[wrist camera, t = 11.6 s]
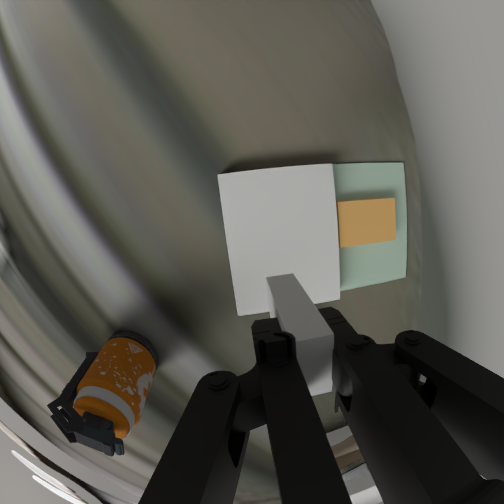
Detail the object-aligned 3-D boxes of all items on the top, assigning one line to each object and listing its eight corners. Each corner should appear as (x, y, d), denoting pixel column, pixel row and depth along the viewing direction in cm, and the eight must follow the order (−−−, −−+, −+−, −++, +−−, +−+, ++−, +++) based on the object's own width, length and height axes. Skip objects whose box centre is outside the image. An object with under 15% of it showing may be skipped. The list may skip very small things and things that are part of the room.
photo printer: (342, 479, 55) (354, 510, 43) (336, 476, 54) (348, 508, 42) (374, 462, 54) (389, 492, 42) (369, 458, 53) (385, 490, 41)
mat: (331, 164, 35) (332, 164, 35) (401, 162, 36) (403, 162, 35) (338, 290, 39) (339, 290, 39) (404, 276, 40) (405, 277, 40)
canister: (156, 380, 41) (129, 475, 21) (97, 362, 39) (49, 444, 20) (161, 338, 39) (124, 438, 20) (96, 319, 38) (31, 399, 18)
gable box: (288, 471, 51) (309, 563, 24) (276, 447, 47) (299, 558, 20) (373, 442, 51) (416, 524, 24) (374, 413, 48) (430, 508, 21)
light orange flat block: (334, 244, 37) (340, 247, 35) (332, 201, 36) (337, 202, 34) (388, 237, 38) (395, 239, 36) (387, 197, 36) (394, 197, 34)
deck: (218, 175, 34) (217, 174, 31) (324, 164, 35) (332, 163, 32) (237, 306, 39) (238, 316, 36) (332, 291, 39) (339, 299, 36)
